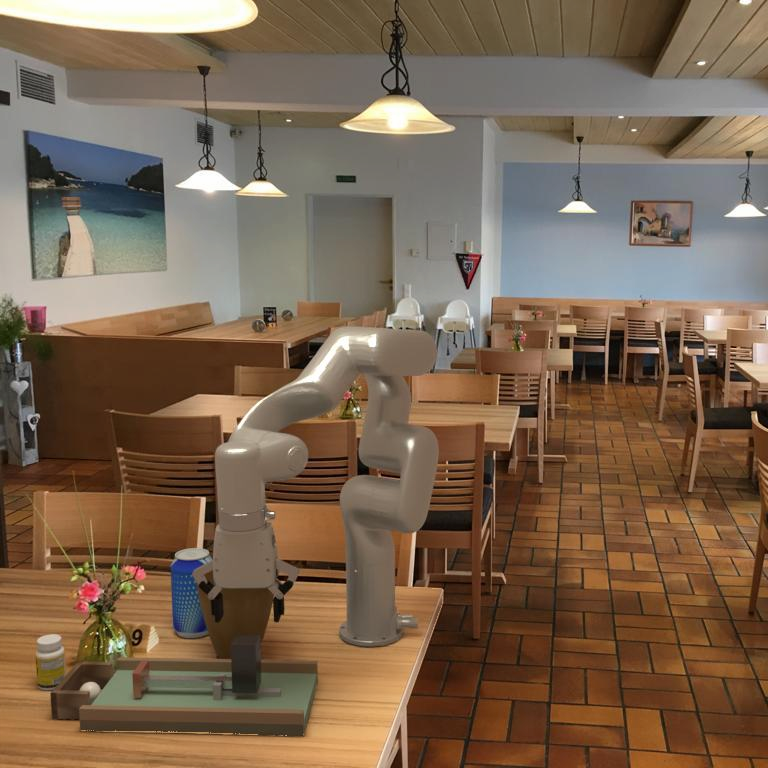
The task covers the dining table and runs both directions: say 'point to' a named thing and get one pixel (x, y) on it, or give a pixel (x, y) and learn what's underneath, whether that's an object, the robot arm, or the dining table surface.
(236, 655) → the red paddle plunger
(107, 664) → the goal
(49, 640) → the supplement bottle
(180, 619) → the beer can
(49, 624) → the dining table surface
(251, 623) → the plant pot
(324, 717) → the dining table surface
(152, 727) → the pitch
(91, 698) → the ball
